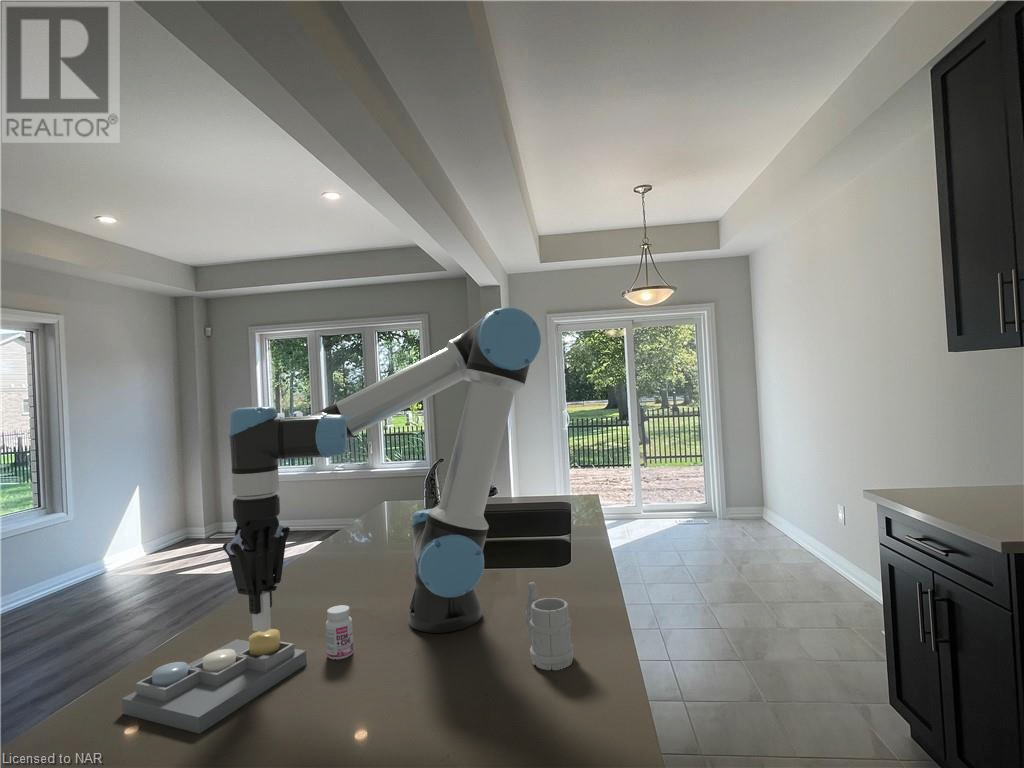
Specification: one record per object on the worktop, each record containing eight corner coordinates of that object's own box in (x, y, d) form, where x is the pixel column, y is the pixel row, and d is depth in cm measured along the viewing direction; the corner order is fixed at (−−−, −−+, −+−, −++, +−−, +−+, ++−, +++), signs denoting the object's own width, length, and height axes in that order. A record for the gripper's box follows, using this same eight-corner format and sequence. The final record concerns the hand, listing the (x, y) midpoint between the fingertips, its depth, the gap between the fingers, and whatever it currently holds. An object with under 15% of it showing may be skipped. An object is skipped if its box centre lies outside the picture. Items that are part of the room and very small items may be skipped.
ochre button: (286, 644, 105) (285, 630, 105) (264, 656, 100) (263, 642, 100) (265, 640, 107) (264, 627, 107) (242, 653, 102) (242, 639, 102)
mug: (545, 676, 97) (541, 603, 97) (511, 649, 108) (508, 583, 108) (583, 663, 101) (579, 593, 101) (547, 638, 111) (543, 575, 111)
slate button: (195, 678, 97) (194, 664, 97) (167, 694, 92) (166, 678, 92) (174, 674, 99) (173, 660, 99) (145, 689, 94) (144, 674, 94)
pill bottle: (339, 662, 106) (336, 615, 106) (321, 657, 109) (319, 611, 109) (359, 651, 110) (356, 606, 110) (341, 646, 113) (339, 602, 113)
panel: (306, 663, 106) (305, 640, 106) (199, 733, 86) (197, 704, 86) (237, 651, 113) (236, 629, 113) (122, 713, 93) (121, 687, 93)
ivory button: (242, 665, 101) (242, 651, 101) (218, 679, 96) (217, 664, 96) (221, 661, 103) (220, 647, 103) (196, 674, 98) (195, 660, 98)
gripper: (268, 487, 111) (273, 613, 111) (208, 501, 99) (214, 642, 99) (299, 489, 108) (305, 617, 108) (241, 503, 96) (248, 648, 96)
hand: (261, 629), depth 103 cm, fingers closed
